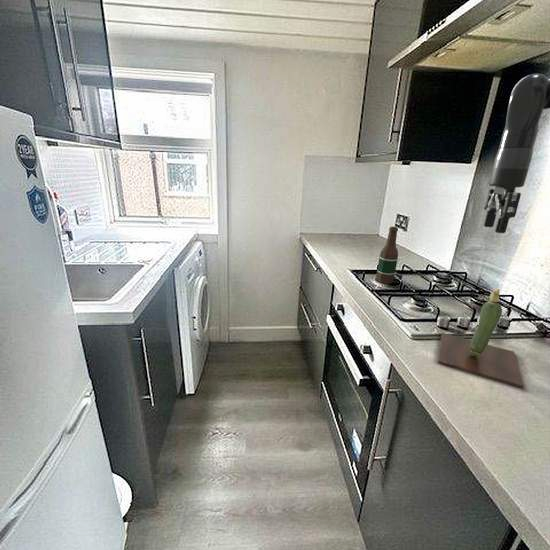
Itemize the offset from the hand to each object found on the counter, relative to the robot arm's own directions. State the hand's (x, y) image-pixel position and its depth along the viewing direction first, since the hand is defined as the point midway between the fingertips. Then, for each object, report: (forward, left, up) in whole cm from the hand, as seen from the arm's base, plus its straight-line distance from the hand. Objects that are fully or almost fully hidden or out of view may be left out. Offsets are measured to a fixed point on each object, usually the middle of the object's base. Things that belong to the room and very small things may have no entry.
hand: (493, 229), depth 83 cm
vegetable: (-3, +14, -32) cm, 35 cm away
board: (-3, +14, -33) cm, 36 cm away
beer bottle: (+30, -30, -33) cm, 53 cm away
